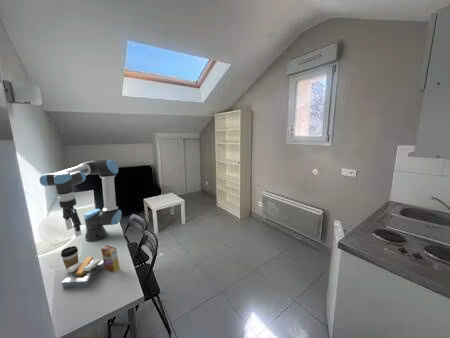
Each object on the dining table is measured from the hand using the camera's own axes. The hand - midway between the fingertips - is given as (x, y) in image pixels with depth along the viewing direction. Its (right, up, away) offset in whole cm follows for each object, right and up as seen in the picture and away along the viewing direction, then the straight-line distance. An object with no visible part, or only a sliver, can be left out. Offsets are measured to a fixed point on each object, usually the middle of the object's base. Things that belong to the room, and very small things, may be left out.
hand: (74, 232), depth 116 cm
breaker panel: (+6, -28, +2) cm, 28 cm away
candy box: (+19, -26, +7) cm, 33 cm away
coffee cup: (-6, -27, +7) cm, 29 cm away
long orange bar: (+6, -21, +1) cm, 21 cm away
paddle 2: (+10, -20, +1) cm, 23 cm away
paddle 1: (+1, -21, +1) cm, 21 cm away
